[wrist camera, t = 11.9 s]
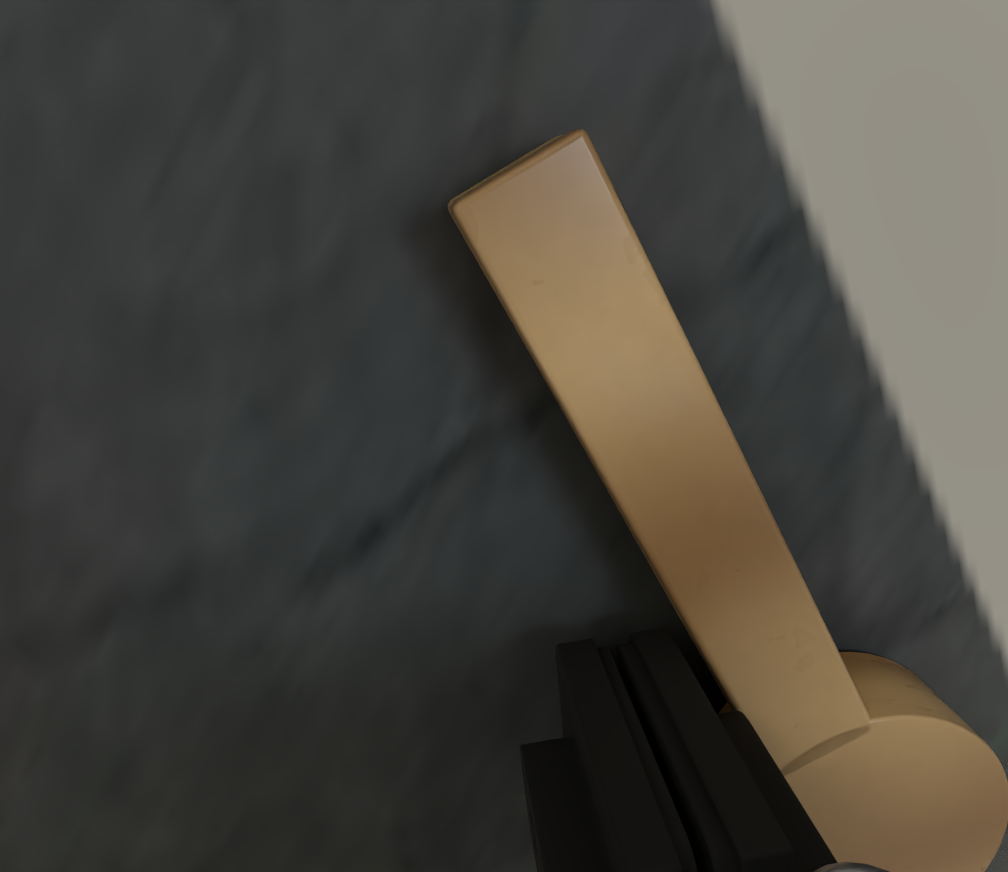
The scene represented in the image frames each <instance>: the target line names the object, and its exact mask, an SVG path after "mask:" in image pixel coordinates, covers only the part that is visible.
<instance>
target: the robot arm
mask: <svg viewBox="0 0 1008 872" xmlns="http://www.w3.org/2000/svg"><path fill="white" fill-rule="evenodd" d="M556 661H557V671H558V682H559V693H560V704H561V715H562V726H563V737H564V738H561V739H555V740H549V741H543V742H536V743H530V744H524V745H520V751H521V761H522V769H523V778H524V787H525V795H526V802H527V810H528V817H529V823H530V830H531V836H532V843H533V849H534V855H535V861H536V866H537V872H889V871H887V870H884V869H881V868H878V867H875V866H872V865H869V864H863V863H853V862H840V863H838V862H837V861H836V859H835V857H834V856H833V854H832V853H831V851H830V849H829V848H828V846H827V845H826V843H825V841H824V840H823V838H822V837H821V835H820V833H819V832H818V830H817V829H816V827H815V825H814V824H813V822H812V821H811V819H810V817H809V816H808V814H807V812H806V811H805V809H804V808H803V806H802V804H801V803H800V801H799V800H798V798H797V796H796V795H795V793H794V792H793V790H792V788H791V787H790V785H789V784H788V782H787V780H786V779H785V777H784V776H783V774H782V772H781V771H780V769H779V768H778V766H777V764H776V763H775V761H774V760H773V758H772V756H771V755H770V753H769V752H768V750H767V748H766V747H765V745H764V744H763V742H762V740H761V739H760V737H759V736H758V734H757V732H756V731H755V729H754V728H753V726H752V724H751V723H750V721H749V720H748V718H747V717H746V716H745V715H744V713H742V712H740V711H739V710H737V711H731V712H724V713H718V714H716V712H715V710H714V709H713V707H712V705H711V703H710V702H709V700H708V698H707V696H706V695H705V693H704V691H703V689H702V688H701V686H700V684H699V682H698V681H697V679H696V677H695V675H694V674H693V672H692V670H691V668H690V666H689V665H688V663H687V661H686V659H685V658H684V656H683V654H682V652H681V651H680V649H679V647H678V645H677V644H676V642H675V640H674V638H673V637H672V635H671V633H670V632H669V630H668V629H667V628H661V629H655V630H648V631H641V632H635V633H630V634H629V638H628V644H622V645H618V646H617V662H618V668H617V666H616V663H615V661H614V658H613V656H612V654H611V651H610V649H609V647H602V648H596V645H595V643H594V641H593V640H592V639H588V640H581V641H575V642H568V643H561V644H556Z"/></svg>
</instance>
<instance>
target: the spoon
mask: <svg viewBox="0 0 1008 872" xmlns="http://www.w3.org/2000/svg"><path fill="white" fill-rule="evenodd" d="M448 211H449V213H450V215H451V216H452V218H453V220H454V222H455V224H456V225H457V227H458V229H459V231H460V232H461V234H462V236H463V238H464V239H465V241H466V243H467V245H468V246H469V248H470V250H471V252H472V253H473V255H474V257H475V259H476V260H477V262H478V264H479V266H480V267H481V269H482V271H483V273H484V275H485V276H486V278H487V280H488V282H489V283H490V285H491V287H492V289H493V290H494V292H495V294H496V296H497V297H498V299H499V301H500V303H501V304H502V306H503V308H504V310H505V311H506V313H507V315H508V317H509V319H510V320H511V322H512V324H513V326H514V327H515V329H516V331H517V333H518V334H519V336H520V338H521V340H522V341H523V343H524V345H525V347H526V348H527V350H528V352H529V354H530V355H531V357H532V359H533V361H534V362H535V364H536V366H537V368H538V370H539V371H540V373H541V375H542V377H543V378H544V380H545V382H546V384H547V385H548V387H549V389H550V391H551V392H552V394H553V396H554V398H555V399H556V401H557V403H558V405H559V406H560V408H561V410H562V412H563V414H564V415H565V417H566V419H567V421H568V422H569V424H570V426H571V428H572V429H573V431H574V433H575V435H576V436H577V438H578V440H579V442H580V443H581V445H582V447H583V449H584V450H585V452H586V454H587V456H588V457H589V459H590V461H591V463H592V465H593V466H594V468H595V470H596V472H597V473H598V475H599V477H600V479H601V480H602V482H603V484H604V486H605V487H606V489H607V491H608V493H609V494H610V496H611V498H612V500H613V501H614V503H615V505H616V507H617V508H618V510H619V512H620V514H621V516H622V517H623V519H624V521H625V523H626V524H627V526H628V528H629V530H630V531H631V533H632V535H633V537H634V538H635V540H636V542H637V544H638V545H639V547H640V549H641V551H642V552H643V554H644V556H645V558H646V560H647V561H648V563H649V565H650V567H651V568H652V570H653V572H654V574H655V575H656V577H657V579H658V581H659V582H660V584H661V586H662V588H663V589H664V591H665V593H666V595H667V596H668V598H669V600H670V602H671V603H672V605H673V607H674V609H675V611H676V612H677V614H678V616H679V618H680V619H681V621H682V623H683V625H684V626H685V628H686V630H687V632H688V633H689V635H690V637H691V639H692V640H693V642H694V644H695V646H696V647H697V649H698V651H699V653H700V655H701V656H702V658H703V660H704V662H705V663H706V665H707V667H708V669H709V670H710V672H711V674H712V676H713V677H714V679H715V681H716V683H717V684H718V686H719V688H720V690H721V691H722V693H723V695H724V697H725V698H726V700H727V703H726V704H725V706H724V707H723V708H722V709H721V710H720V712H719V713H724V712H731V711H737V710H739V711H740V712H742V713H744V715H745V716H746V717H747V718H748V720H749V721H750V723H751V724H752V726H753V728H754V729H755V731H756V732H757V734H758V736H759V737H760V739H761V740H762V742H763V744H764V745H765V747H766V748H767V750H768V752H769V753H770V755H771V756H772V758H773V760H774V761H775V763H776V764H777V766H778V768H779V769H780V771H781V772H782V774H783V776H784V777H785V779H786V780H787V782H788V784H789V785H790V787H791V788H792V790H793V792H794V793H795V795H796V796H797V798H798V800H799V801H800V803H801V804H802V806H803V808H804V809H805V811H806V812H807V814H808V816H809V817H810V819H811V821H812V822H813V824H814V825H815V827H816V829H817V830H818V832H819V833H820V835H821V837H822V838H823V840H824V841H825V843H826V845H827V846H828V848H829V849H830V851H831V853H832V854H833V856H834V857H835V859H836V861H837V862H838V863H840V862H853V863H863V864H869V865H872V866H875V867H878V868H881V869H884V870H887V871H889V872H985V870H986V869H987V867H988V866H989V864H990V863H991V861H992V860H993V858H994V857H995V855H996V853H997V851H998V849H999V847H1000V844H1001V842H1002V840H1003V837H1004V834H1005V831H1006V828H1007V823H1008V781H1007V778H1006V775H1005V772H1004V769H1003V767H1002V765H1001V763H1000V761H999V759H998V757H997V755H996V754H995V753H994V752H993V750H992V749H991V748H990V747H989V745H988V744H987V743H986V742H985V741H984V740H983V739H982V738H981V737H980V736H979V735H978V734H976V733H975V732H974V731H973V730H972V729H971V728H970V727H969V726H968V725H967V724H966V723H965V722H964V721H963V720H962V719H961V718H960V717H959V716H958V715H957V714H956V713H955V712H954V711H953V710H952V709H951V708H950V707H949V706H948V705H947V704H946V703H945V702H944V701H943V700H942V699H941V698H940V697H938V696H937V695H936V694H935V693H934V692H933V691H932V690H931V689H930V688H929V687H928V686H927V685H926V684H925V683H924V682H923V681H922V680H921V679H920V678H919V677H917V676H916V675H915V674H914V673H913V672H912V671H910V670H909V669H907V668H905V667H904V666H902V665H900V664H898V663H896V662H894V661H891V660H889V659H887V658H884V657H880V656H876V655H872V654H868V653H860V652H839V651H838V649H837V647H836V645H835V643H834V641H833V639H832V637H831V635H830V633H829V630H828V628H827V626H826V624H825V622H824V620H823V618H822V616H821V614H820V612H819V610H818V608H817V606H816V604H815V602H814V600H813V597H812V595H811V593H810V591H809V589H808V587H807V585H806V583H805V581H804V579H803V577H802V575H801V573H800V571H799V569H798V566H797V564H796V562H795V560H794V558H793V556H792V554H791V552H790V550H789V548H788V546H787V544H786V542H785V540H784V538H783V535H782V533H781V531H780V529H779V527H778V525H777V523H776V521H775V519H774V517H773V515H772V513H771V511H770V509H769V507H768V505H767V502H766V500H765V498H764V496H763V494H762V492H761V490H760V488H759V486H758V484H757V482H756V480H755V478H754V476H753V474H752V471H751V469H750V467H749V465H748V463H747V461H746V459H745V457H744V455H743V453H742V451H741V449H740V447H739V445H738V443H737V441H736V438H735V436H734V434H733V432H732V430H731V428H730V426H729V424H728V422H727V420H726V418H725V416H724V414H723V412H722V410H721V407H720V405H719V403H718V401H717V399H716V397H715V395H714V393H713V391H712V389H711V387H710V385H709V383H708V381H707V379H706V377H705V374H704V372H703V370H702V368H701V366H700V364H699V362H698V360H697V358H696V356H695V354H694V352H693V350H692V348H691V346H690V343H689V341H688V339H687V337H686V335H685V333H684V331H683V329H682V327H681V325H680V323H679V321H678V319H677V317H676V315H675V313H674V310H673V308H672V306H671V304H670V302H669V300H668V298H667V296H666V294H665V292H664V290H663V288H662V286H661V284H660V282H659V279H658V277H657V275H656V273H655V271H654V269H653V267H652V265H651V263H650V261H649V259H648V257H647V255H646V253H645V251H644V249H643V246H642V244H641V242H640V240H639V238H638V236H637V234H636V232H635V230H634V228H633V226H632V224H631V222H630V220H629V218H628V215H627V213H626V211H625V209H624V207H623V205H622V203H621V201H620V199H619V197H618V195H617V193H616V191H615V189H614V187H613V184H612V182H611V180H610V178H609V176H608V174H607V172H606V170H605V168H604V166H603V164H602V162H601V160H600V158H599V156H598V154H597V151H596V149H595V147H594V145H593V143H592V141H591V139H590V137H589V135H588V134H587V133H586V132H585V131H584V130H583V129H579V130H574V131H571V132H568V133H566V134H563V135H560V136H558V137H555V138H552V139H550V140H549V141H547V142H546V143H544V144H542V145H541V146H539V147H537V148H536V149H534V150H532V151H531V152H529V153H527V154H526V155H524V156H522V157H521V158H519V159H517V160H516V161H514V162H512V163H511V164H509V165H507V166H506V167H504V168H502V169H501V170H499V171H497V172H496V173H494V174H493V175H491V176H489V177H488V178H486V179H484V180H483V181H481V182H479V183H478V184H476V185H474V186H473V187H471V188H469V189H468V190H466V191H464V192H463V193H461V194H459V195H458V196H456V197H454V198H453V199H451V201H450V202H449V203H448Z"/></svg>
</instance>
